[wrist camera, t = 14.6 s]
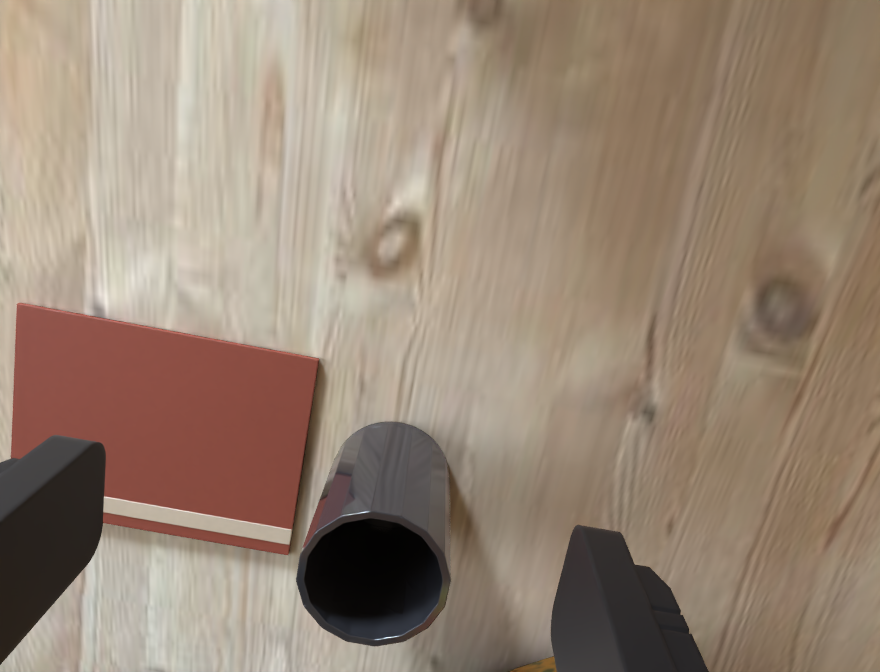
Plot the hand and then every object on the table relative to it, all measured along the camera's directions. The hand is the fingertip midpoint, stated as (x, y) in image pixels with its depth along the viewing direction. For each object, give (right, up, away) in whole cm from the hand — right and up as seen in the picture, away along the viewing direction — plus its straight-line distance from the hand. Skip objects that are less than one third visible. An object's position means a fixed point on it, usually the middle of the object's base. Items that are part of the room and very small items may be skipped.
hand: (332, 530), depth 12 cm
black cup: (-1, -5, +28) cm, 28 cm away
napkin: (-14, -2, +28) cm, 31 cm away
